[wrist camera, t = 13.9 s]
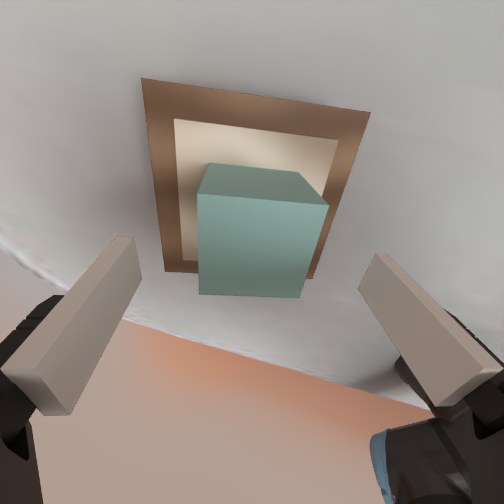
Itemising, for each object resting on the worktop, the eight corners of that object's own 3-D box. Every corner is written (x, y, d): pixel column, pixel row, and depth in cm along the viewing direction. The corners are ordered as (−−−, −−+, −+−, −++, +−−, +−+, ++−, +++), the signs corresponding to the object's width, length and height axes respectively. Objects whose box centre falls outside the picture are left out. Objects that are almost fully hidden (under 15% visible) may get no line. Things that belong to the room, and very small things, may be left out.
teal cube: (281, 245, 22) (299, 298, 16) (209, 240, 21) (199, 294, 15) (298, 171, 18) (329, 205, 12) (209, 162, 17) (197, 193, 11)
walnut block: (296, 242, 32) (313, 281, 25) (180, 233, 30) (163, 274, 23) (331, 109, 23) (374, 112, 16) (170, 86, 21) (138, 77, 14)
